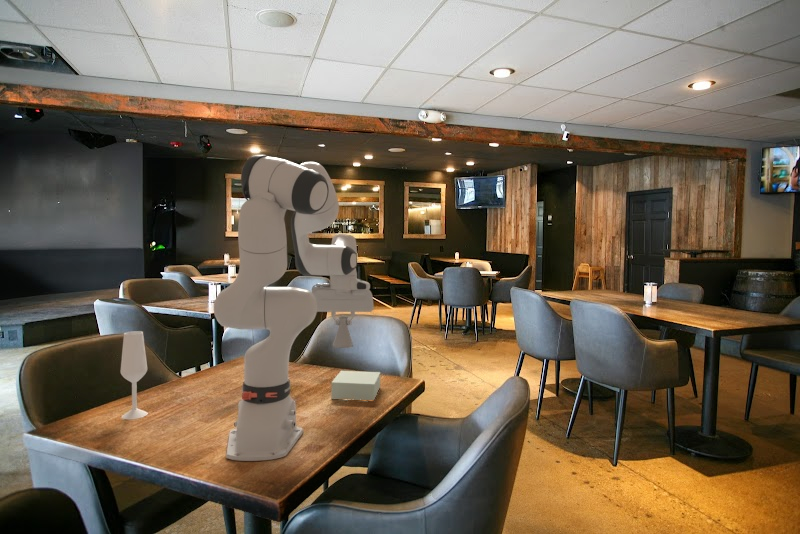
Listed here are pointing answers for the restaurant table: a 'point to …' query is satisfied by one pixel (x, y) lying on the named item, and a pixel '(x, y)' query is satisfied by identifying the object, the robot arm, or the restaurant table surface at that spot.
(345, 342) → the flask
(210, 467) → the restaurant table surface
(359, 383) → the sage block
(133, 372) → the champagne flute
